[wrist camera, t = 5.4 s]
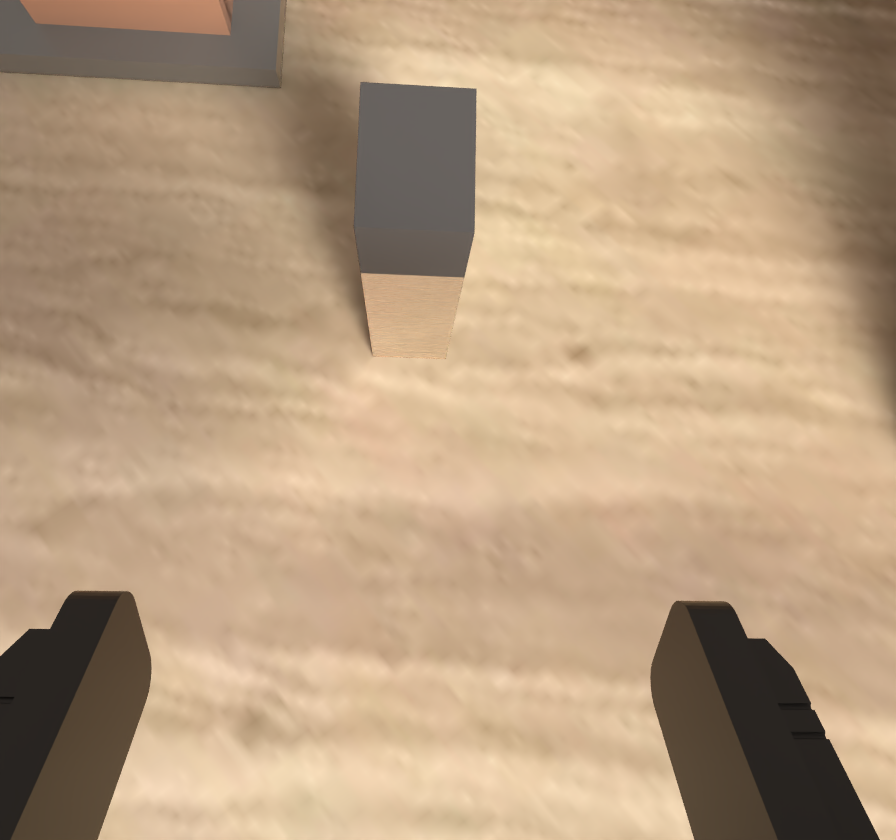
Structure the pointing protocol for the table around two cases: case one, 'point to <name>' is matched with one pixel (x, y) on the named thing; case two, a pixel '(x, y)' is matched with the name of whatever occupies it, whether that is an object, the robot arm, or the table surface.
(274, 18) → the box
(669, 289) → the table surface
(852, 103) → the table surface
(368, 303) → the grey block
